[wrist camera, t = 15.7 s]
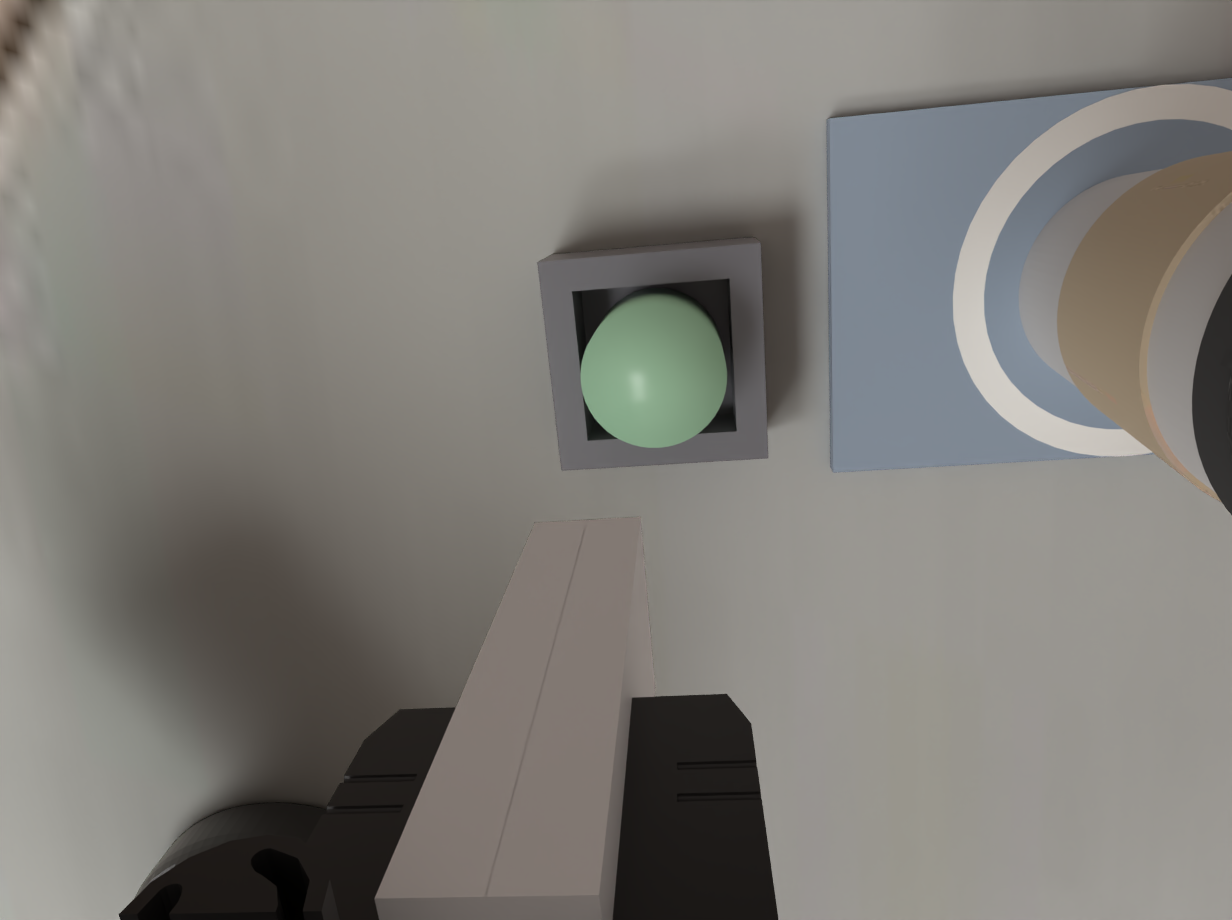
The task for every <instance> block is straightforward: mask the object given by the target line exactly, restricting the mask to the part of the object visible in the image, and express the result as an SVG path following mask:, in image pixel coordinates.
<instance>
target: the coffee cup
mask: <svg viewBox="0 0 1232 920" xmlns="http://www.w3.org/2000/svg"><path fill="white" fill-rule="evenodd" d="M1019 312H1020V318H1021V322H1022V326H1023V329H1024V332H1025V334H1026V337H1027V339H1028V341H1029V343H1030V344H1031V346H1032V348H1033V349H1034V351H1035V352H1036V353H1037V354H1038V356H1039V357H1040V358H1041V359H1042V360H1043V361H1044V362H1045V363H1046V364H1047V365H1048V366H1049V367H1051V368H1052V369H1053V370H1055V371H1056V372H1057V373H1059V374H1060V375H1061V376H1063V377H1064V378H1065V379H1067V380H1068V381H1069V382H1070V383H1072V384H1073V385H1074V386H1076V387H1077V388H1078V389H1079V391H1080V392H1081V393H1082V394H1083V396H1084V397H1085V398H1086V399H1087V400H1088V401H1089V402H1090V403H1091V404H1092V405H1093V406H1095V407H1096V408H1097V409H1098V410H1099V411H1101V412H1102V413H1103V414H1105V415H1106V416H1107V417H1108V418H1110V419H1111V420H1112V421H1113V422H1115V423H1116V424H1117V425H1119V426H1120V427H1121V428H1122V429H1124V430H1125V431H1126V432H1127V433H1129V434H1130V435H1131V436H1133V437H1134V438H1135V439H1136V440H1138V441H1139V442H1140V443H1141V444H1143V445H1144V446H1145V447H1147V448H1148V449H1149V450H1150V451H1152V452H1153V453H1154V454H1155V455H1157V456H1158V457H1159V458H1161V459H1162V460H1163V461H1164V462H1166V463H1167V464H1168V465H1169V466H1171V467H1172V468H1173V469H1175V470H1176V471H1177V472H1178V473H1180V474H1181V475H1182V476H1183V477H1185V478H1186V479H1187V480H1188V481H1190V482H1191V483H1192V484H1194V485H1195V486H1196V487H1198V488H1199V489H1200V490H1202V491H1203V492H1205V493H1206V494H1208V495H1210V496H1211V497H1213V498H1215V499H1217V500H1219V501H1221V502H1222V503H1223V504H1224V506H1225V507H1226V509H1227V510H1228V511H1229V512H1230V513H1231V515H1232V151H1229V152H1223V153H1217V154H1212V155H1206V156H1201V157H1196V158H1193V159H1189V160H1185V161H1182V162H1179V163H1177V164H1174V165H1172V166H1169V167H1167V168H1165V169H1159V170H1153V171H1147V172H1141V173H1135V174H1129V175H1123V176H1119V177H1115V178H1112V179H1109V180H1106V181H1104V182H1101V183H1099V184H1097V185H1094V186H1092V187H1091V188H1089V189H1087V190H1085V191H1083V192H1082V193H1080V194H1079V195H1077V196H1076V197H1074V198H1073V199H1072V200H1070V201H1069V202H1068V203H1067V204H1065V205H1064V206H1063V207H1062V208H1061V209H1060V210H1059V211H1058V212H1057V213H1056V214H1055V215H1054V216H1053V217H1052V218H1051V219H1050V220H1049V221H1048V223H1047V224H1046V225H1045V226H1044V228H1043V229H1042V231H1041V232H1040V233H1039V235H1038V237H1037V238H1036V240H1035V242H1034V243H1033V245H1032V247H1031V249H1030V251H1029V254H1028V256H1027V258H1026V261H1025V264H1024V267H1023V271H1022V274H1021V279H1020V286H1019Z"/></svg>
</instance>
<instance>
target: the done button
mask: <svg viewBox="0 0 1232 920" xmlns="http://www.w3.org/2000/svg"><path fill="white" fill-rule="evenodd" d="M580 375H581V387H582V393H583V396H584V399H585V402H586V404H587V406H588V408H589V410H590V412H591V414H592V415H593V417H594V418H595V419H596V421H597V422H598V423H599V424H600V425H601V426H602V427H603V428H604V429H605V430H606V431H607V432H609V433H610V434H612V435H613V436H614V437H616V438H618V439H620V440H622V441H624V442H626V443H629V444H632V445H636V446H640V447H647V448H661V447H669V446H673V445H676V444H679V443H682V442H684V441H686V440H688V439H690V438H692V437H694V436H695V435H697V434H698V433H699V432H701V431H702V430H703V429H704V428H705V427H706V426H707V425H708V424H709V423H710V422H711V420H712V419H713V418H714V417H715V415H716V413H717V412H718V410H719V408H720V406H721V404H722V401H723V398H724V395H725V392H726V385H727V368H726V361H725V357H724V352H723V347H722V343H721V338H720V334H719V331H718V328H717V326H716V323H715V322H714V320H713V318H712V316H711V315H710V314H709V312H708V311H707V310H706V309H705V308H704V307H703V306H702V305H701V304H700V303H699V302H698V301H696V300H695V299H694V298H692V297H690V296H688V295H687V294H684V293H682V292H680V291H676V290H672V289H667V288H649V289H643V290H640V291H636V292H634V293H632V294H629V295H628V296H626V297H624V298H623V299H621V300H620V301H619V302H617V303H616V304H615V305H614V306H613V307H612V308H611V309H610V310H609V311H608V313H607V314H606V315H605V317H604V318H603V320H602V321H601V323H600V325H599V326H598V328H597V330H596V331H595V333H594V335H593V336H592V338H591V340H590V341H589V343H588V345H587V347H586V350H585V353H584V355H583V359H582V364H581V373H580Z"/></svg>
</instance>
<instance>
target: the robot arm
mask: <svg viewBox="0 0 1232 920" xmlns="http://www.w3.org/2000/svg"><path fill="white" fill-rule="evenodd" d="M119 917H120V920H778V914H777V906H776V899H775V892H774V885H773V878H772V871H771V863H770V856H769V849H768V842H767V835H766V827H765V820H764V813H763V806H762V800H761V792H760V784H759V777H758V770H757V766H756V756H755V749H754V741H753V734H752V727H751V723H750V722H749V720H748V719H747V718H746V717H745V716H744V714H743V713H742V712H741V711H740V710H739V708H738V707H737V706H736V705H735V703H734V702H733V701H732V700H731V699H730V697H729V696H728V695H727V694H714V695H687V696H660V697H655V677H654V666H653V654H652V643H651V631H650V619H649V608H648V596H647V585H646V573H645V561H644V550H643V538H642V527H641V517H625V518H608V519H590V520H573V521H556V522H538V523H534V525H533V528H532V530H531V532H530V535H529V537H528V539H527V542H526V544H525V547H524V549H523V551H522V554H521V556H520V558H519V561H518V563H517V565H516V568H515V570H514V572H513V575H512V577H511V579H510V582H509V584H508V586H507V589H506V591H505V593H504V596H503V598H502V600H501V603H500V605H499V608H498V610H497V612H496V615H495V617H494V619H493V622H492V624H491V626H490V629H489V631H488V633H487V636H486V638H485V640H484V643H483V645H482V647H481V650H480V652H479V654H478V657H477V659H476V661H475V664H474V666H473V668H472V671H471V673H470V676H469V678H468V680H467V683H466V685H465V687H464V690H463V692H462V694H461V697H460V699H459V701H458V704H457V706H456V708H429V709H402V710H399V711H398V712H397V713H395V714H394V715H393V716H392V717H391V718H390V719H388V720H387V721H386V722H385V723H384V724H383V725H381V726H380V727H379V728H378V729H377V730H376V731H374V732H373V733H372V734H371V735H370V736H369V737H368V738H366V739H365V740H364V742H363V744H362V745H361V747H360V749H359V751H358V752H357V754H356V756H355V758H354V760H353V761H352V763H351V765H350V767H349V768H348V770H347V772H346V774H345V775H344V783H340V784H339V786H338V788H337V789H336V791H335V793H334V795H333V797H332V798H331V800H330V802H329V804H328V805H327V810H324V809H320V808H316V807H311V806H305V805H298V804H287V803H262V804H252V805H245V806H240V807H236V808H232V809H228V810H225V811H222V812H219V813H216V814H214V815H212V816H210V817H207V818H205V819H204V820H202V821H200V822H198V823H197V824H195V825H194V826H192V827H191V828H189V829H188V830H187V831H186V832H184V833H183V834H182V835H181V836H180V837H179V838H178V839H177V840H176V841H175V842H174V843H173V844H172V846H171V847H170V848H169V849H168V851H167V852H166V853H165V855H164V856H163V857H162V858H161V860H160V861H159V862H158V864H157V865H156V866H155V868H154V869H153V870H152V871H151V873H150V874H149V875H148V877H147V878H146V879H145V881H144V882H143V884H142V885H141V887H140V889H139V891H138V893H137V894H136V896H135V898H134V900H133V901H132V902H131V903H130V904H129V905H128V906H127V907H126V908H125V909H124V910H123V911H122V912H121V913H120V914H119Z"/></svg>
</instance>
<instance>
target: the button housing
mask: <svg viewBox="0 0 1232 920" xmlns="http://www.w3.org/2000/svg"><path fill="white" fill-rule="evenodd" d="M537 263H538V271H539V280H540V289H541V297H542V306H543V315H544V323H545V332H546V340H547V349H548V358H549V366H550V375H551V384H552V392H553V401H554V409H555V418H556V427H557V435H558V444H559V452H560V461H561V470H579V469H596V468H613V467H630V466H646V465H663V464H680V463H697V462H714V461H730V460H747V459H764V458H768V436H767V407H766V379H765V350H764V322H763V293H762V265H761V243H760V242H759V241H758V240H757V239H755V238H754V237H746V238H735V239H723V240H712V241H700V242H689V243H677V244H666V245H654V246H643V247H631V248H620V249H608V250H597V251H585V252H574V253H562V254H552V255H550V256H548V257H546V258H544V259H542V260H540V261H539V262H537ZM649 288H667V289H672V290H676V291H680V292H682V293H684V294H687V295H688V296H690V297H692V298H694V299H695V300H696V301H698V302H699V303H700V304H701V305H702V306H703V307H704V308H705V309H706V310H707V311H708V312H709V314H710V315H711V316H712V318H713V320H714V322H715V323H716V326H717V328H718V331H719V334H720V338H721V343H722V347H723V352H724V357H725V361H726V368H727V385H726V392H725V395H724V398H723V401H722V404H721V406H720V408H719V410H718V412H717V413H716V415H715V417H714V418H713V419H712V420H711V422H710V423H709V424H708V425H707V426H706V427H705V428H704V429H703V430H702V431H701V432H699V433H698V434H697V435H695V436H694V437H692V438H690V439H688V440H686V441H684V442H682V443H679V444H676V445H673V446H669V447H661V448H647V447H640V446H636V445H632V444H629V443H626V442H624V441H622V440H620V439H618V438H616V437H614V436H613V435H612V434H610V433H609V432H607V431H606V430H605V429H604V428H603V427H602V426H601V425H600V424H599V423H598V422H597V421H596V419H595V418H594V417H593V415H592V414H591V412H590V410H589V408H588V406H587V404H586V402H585V399H584V396H583V393H582V387H581V375H580V373H581V364H582V359H583V355H584V353H585V350H586V347H587V345H588V343H589V341H590V340H591V338H592V336H593V335H594V333H595V331H596V330H597V328H598V326H599V325H600V323H601V321H602V320H603V318H604V317H605V315H606V314H607V313H608V311H609V310H610V309H611V308H612V307H613V306H614V305H615V304H616V303H617V302H619V301H620V300H621V299H623V298H624V297H626V296H628V295H629V294H632V293H634V292H636V291H640V290H643V289H649Z"/></svg>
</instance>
